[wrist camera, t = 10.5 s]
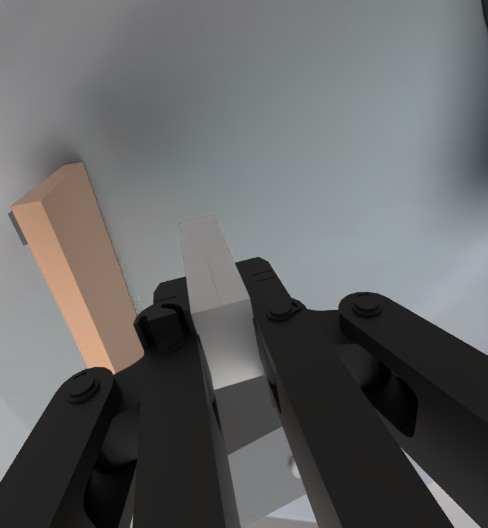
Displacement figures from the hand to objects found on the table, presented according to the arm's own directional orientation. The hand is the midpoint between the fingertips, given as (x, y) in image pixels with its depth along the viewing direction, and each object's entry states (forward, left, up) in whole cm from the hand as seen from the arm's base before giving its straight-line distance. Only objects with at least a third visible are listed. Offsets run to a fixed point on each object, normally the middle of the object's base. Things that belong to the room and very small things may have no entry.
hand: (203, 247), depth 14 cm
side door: (+10, -5, -12) cm, 16 cm away
